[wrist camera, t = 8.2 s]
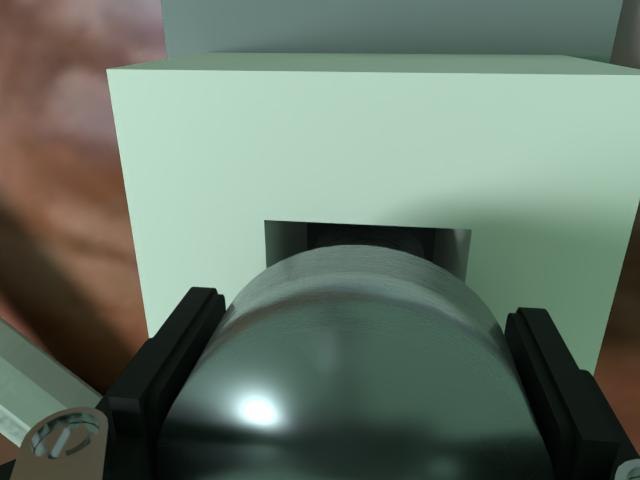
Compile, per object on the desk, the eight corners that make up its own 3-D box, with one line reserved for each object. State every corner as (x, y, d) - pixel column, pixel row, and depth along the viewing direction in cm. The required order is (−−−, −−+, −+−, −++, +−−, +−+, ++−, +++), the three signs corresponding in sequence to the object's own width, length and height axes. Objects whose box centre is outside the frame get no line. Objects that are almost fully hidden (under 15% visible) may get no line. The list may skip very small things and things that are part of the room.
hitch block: (167, -41, 18) (13, -85, 10) (620, -47, 16) (814, -105, 9) (211, 375, 25) (138, 521, 18) (527, 401, 23) (591, 575, 16)
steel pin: (267, 161, 16) (131, 316, 7) (482, 169, 15) (598, 350, 7) (274, 337, 18) (178, 600, 10) (458, 351, 17) (520, 647, 9)
